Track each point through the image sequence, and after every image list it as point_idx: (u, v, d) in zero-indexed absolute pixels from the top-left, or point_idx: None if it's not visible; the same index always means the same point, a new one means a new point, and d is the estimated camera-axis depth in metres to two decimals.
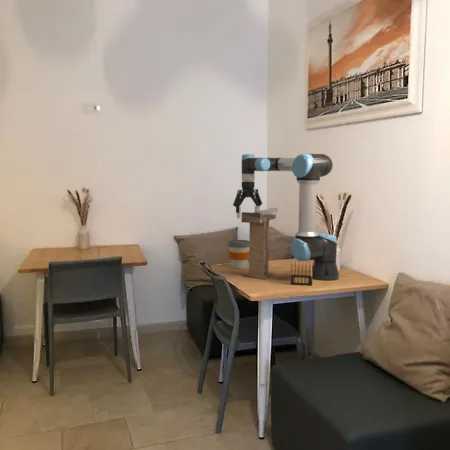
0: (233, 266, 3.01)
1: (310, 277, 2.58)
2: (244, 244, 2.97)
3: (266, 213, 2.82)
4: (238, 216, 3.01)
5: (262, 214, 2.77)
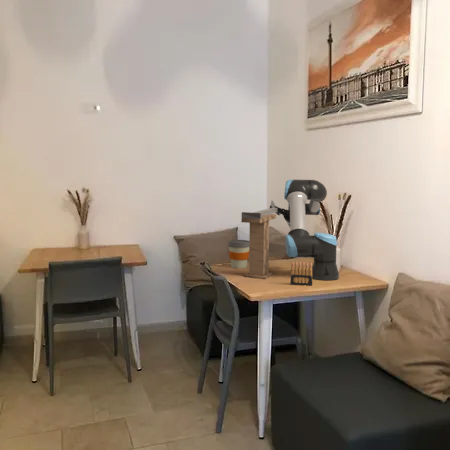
0: (233, 266, 3.01)
1: (310, 277, 2.58)
2: (244, 244, 2.97)
3: (266, 213, 2.82)
4: None
5: (262, 214, 2.77)
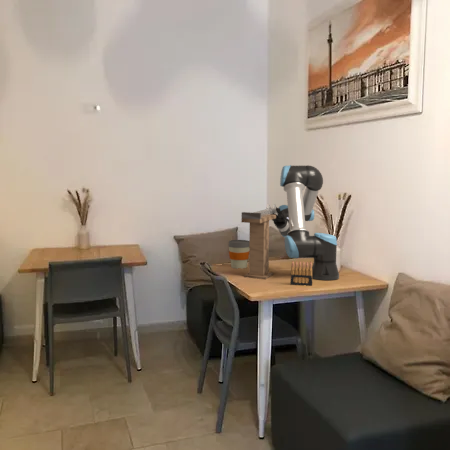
0: (233, 266, 3.01)
1: (310, 277, 2.58)
2: (244, 244, 2.97)
3: (266, 213, 2.82)
4: None
5: (262, 214, 2.77)
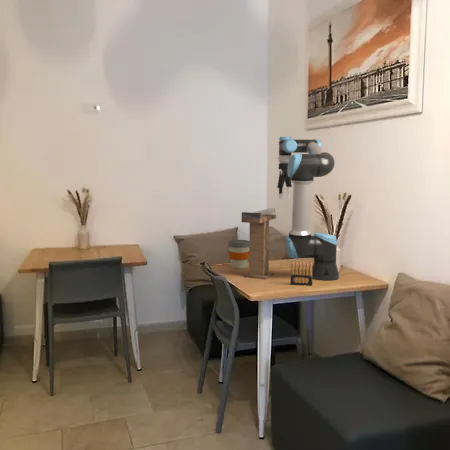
0: (233, 266, 3.01)
1: (310, 277, 2.58)
2: (244, 244, 2.97)
3: (264, 214, 2.79)
4: (281, 197, 3.09)
5: None
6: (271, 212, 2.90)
